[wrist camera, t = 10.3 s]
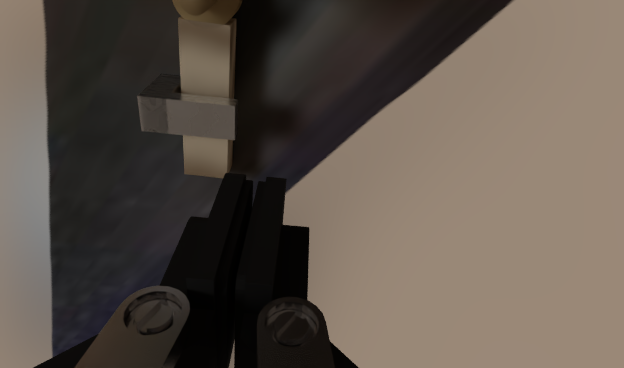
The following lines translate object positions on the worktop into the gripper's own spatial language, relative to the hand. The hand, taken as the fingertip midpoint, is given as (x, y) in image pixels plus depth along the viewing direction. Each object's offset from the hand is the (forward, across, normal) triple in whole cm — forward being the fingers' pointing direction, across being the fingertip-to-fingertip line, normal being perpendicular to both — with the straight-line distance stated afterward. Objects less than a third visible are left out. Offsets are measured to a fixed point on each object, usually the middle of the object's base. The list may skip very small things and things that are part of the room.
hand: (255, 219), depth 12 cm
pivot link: (+27, +7, +5) cm, 28 cm away
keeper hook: (+27, +8, +7) cm, 29 cm away
